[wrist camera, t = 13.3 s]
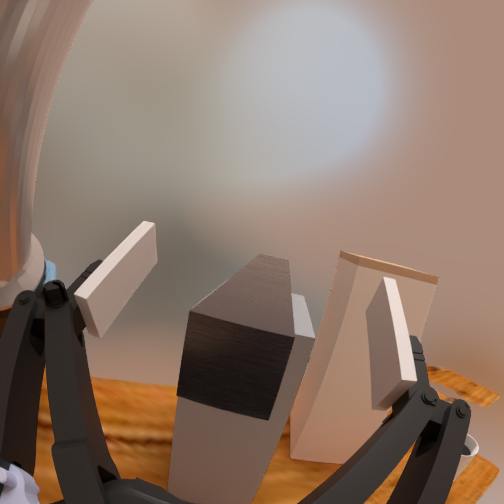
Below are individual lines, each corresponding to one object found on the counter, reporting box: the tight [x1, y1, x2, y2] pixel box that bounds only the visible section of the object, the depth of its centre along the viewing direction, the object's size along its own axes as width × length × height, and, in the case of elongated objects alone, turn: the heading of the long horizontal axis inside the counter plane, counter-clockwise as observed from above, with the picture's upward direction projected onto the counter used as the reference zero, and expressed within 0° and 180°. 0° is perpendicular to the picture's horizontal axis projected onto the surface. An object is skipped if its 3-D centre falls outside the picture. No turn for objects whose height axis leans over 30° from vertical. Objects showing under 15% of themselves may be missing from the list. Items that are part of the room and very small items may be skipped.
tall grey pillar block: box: [168, 278, 315, 504], centre depth 28 cm, size 9×14×24 cm, turn 173°
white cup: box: [453, 434, 479, 482], centre depth 24 cm, size 7×7×10 cm
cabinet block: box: [290, 251, 439, 464], centre depth 38 cm, size 11×12×30 cm
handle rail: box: [176, 254, 295, 421], centre depth 22 cm, size 4×26×4 cm, turn 173°
